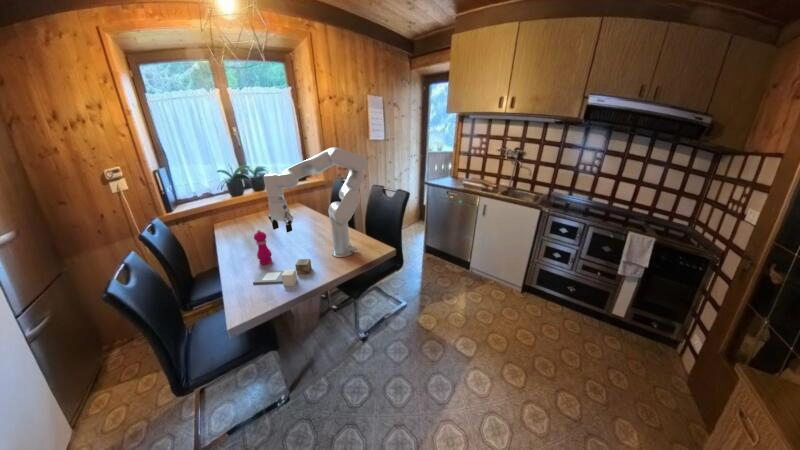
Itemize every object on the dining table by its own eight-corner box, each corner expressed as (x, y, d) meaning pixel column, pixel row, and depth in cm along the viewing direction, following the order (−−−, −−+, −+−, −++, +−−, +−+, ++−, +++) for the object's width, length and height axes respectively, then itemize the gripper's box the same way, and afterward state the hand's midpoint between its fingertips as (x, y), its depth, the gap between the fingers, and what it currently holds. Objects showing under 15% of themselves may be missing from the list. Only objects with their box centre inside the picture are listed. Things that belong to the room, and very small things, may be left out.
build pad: (289, 272, 139) (288, 270, 139) (282, 282, 130) (281, 281, 129) (262, 273, 139) (261, 271, 138) (253, 284, 129) (252, 282, 129)
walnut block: (311, 268, 142) (310, 258, 140) (308, 274, 137) (307, 264, 135) (300, 269, 142) (298, 259, 140) (297, 275, 137) (295, 265, 134)
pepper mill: (258, 266, 145) (250, 233, 138) (259, 260, 151) (251, 228, 144) (272, 263, 148) (265, 230, 140) (273, 258, 154) (266, 226, 147)
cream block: (297, 279, 133) (295, 269, 130) (294, 285, 128) (292, 274, 126) (287, 280, 132) (285, 269, 130) (283, 285, 128) (281, 275, 125)
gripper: (295, 198, 131) (300, 229, 138) (270, 195, 138) (276, 225, 144) (283, 202, 125) (289, 235, 131) (257, 198, 132) (265, 230, 138)
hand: (282, 230), depth 138 cm, fingers open, 9 cm apart
